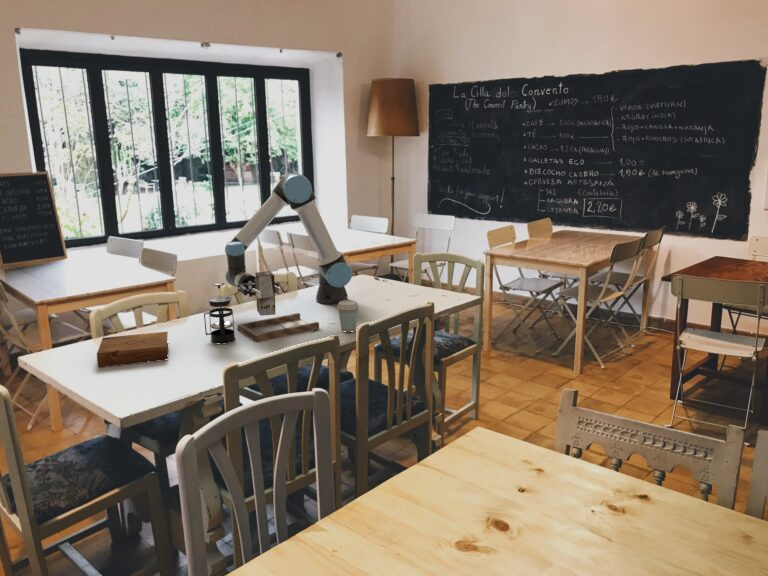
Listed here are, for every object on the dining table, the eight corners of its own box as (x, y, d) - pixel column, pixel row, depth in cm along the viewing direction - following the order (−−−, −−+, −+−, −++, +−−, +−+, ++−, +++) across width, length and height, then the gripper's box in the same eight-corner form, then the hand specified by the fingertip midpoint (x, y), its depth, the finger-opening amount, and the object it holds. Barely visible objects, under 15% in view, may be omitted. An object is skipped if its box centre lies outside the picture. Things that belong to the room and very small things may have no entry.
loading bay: (298, 318, 276) (298, 312, 276) (319, 328, 262) (319, 322, 261) (237, 330, 261) (237, 324, 260) (256, 341, 246) (255, 335, 246)
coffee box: (276, 314, 253) (274, 275, 250) (260, 316, 251) (258, 276, 248) (272, 309, 262) (270, 270, 258) (256, 310, 260) (254, 271, 256)
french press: (236, 335, 254) (232, 279, 249) (237, 342, 246) (233, 285, 240) (206, 338, 252) (201, 281, 246) (206, 345, 243) (201, 287, 237)
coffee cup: (360, 327, 262) (359, 299, 259) (357, 334, 254) (356, 305, 251) (339, 327, 263) (339, 299, 260) (336, 334, 255) (335, 305, 252)
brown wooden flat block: (98, 369, 221) (96, 354, 220) (104, 352, 239) (102, 337, 237) (167, 361, 228) (166, 346, 226) (168, 345, 245) (167, 330, 244)
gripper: (269, 287, 275) (294, 297, 257) (224, 295, 264) (246, 306, 246) (268, 270, 273) (293, 279, 255) (222, 277, 262) (244, 288, 244)
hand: (270, 293), depth 250 cm, fingers closed on coffee box, 8 cm apart
